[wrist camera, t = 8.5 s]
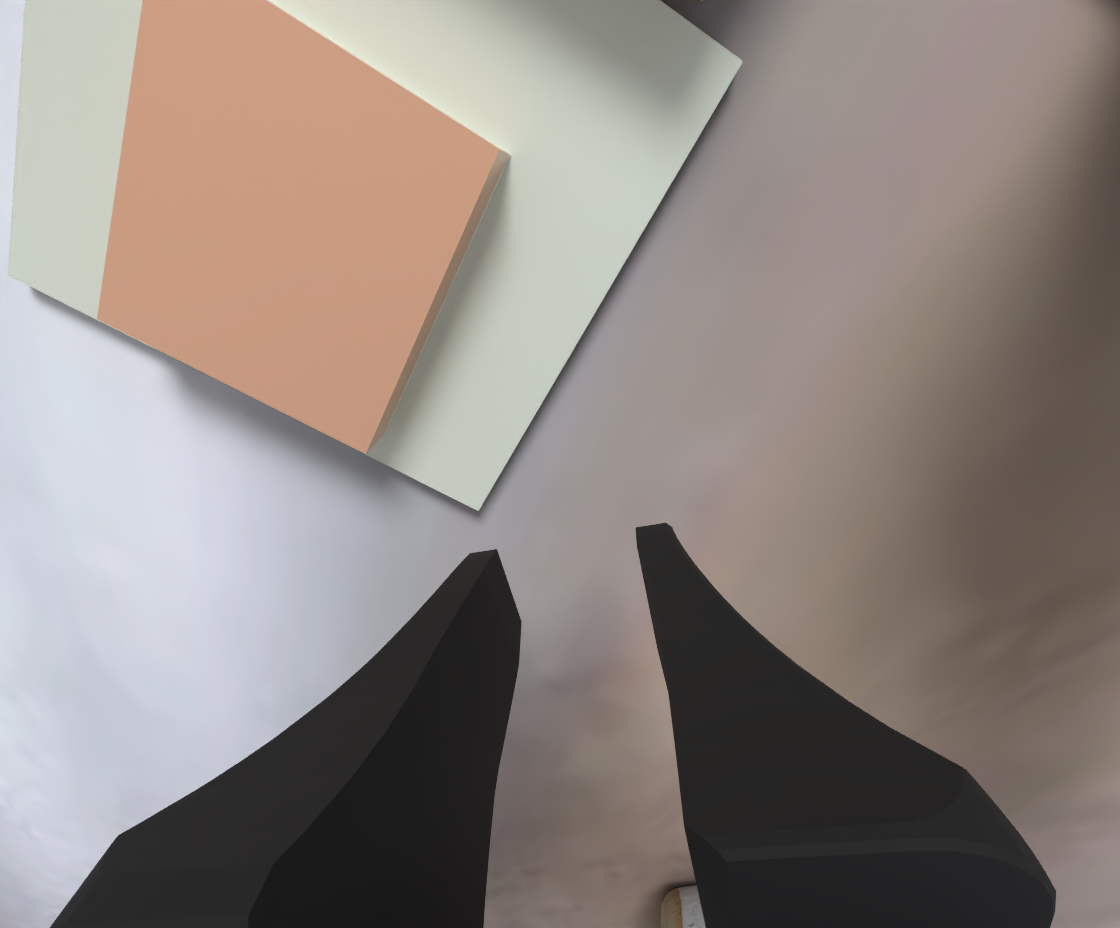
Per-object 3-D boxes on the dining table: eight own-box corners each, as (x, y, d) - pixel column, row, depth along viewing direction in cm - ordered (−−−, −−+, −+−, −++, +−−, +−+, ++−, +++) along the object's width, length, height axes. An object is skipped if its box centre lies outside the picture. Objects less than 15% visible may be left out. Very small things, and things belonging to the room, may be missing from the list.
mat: (737, 66, 12) (743, 61, 11) (481, 502, 17) (478, 511, 17) (79, -416, 9) (53, -449, 9) (25, 273, 15) (8, 275, 14)
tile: (499, 148, 11) (365, 454, 14) (511, 154, 12) (386, 430, 16) (153, -73, 10) (96, 319, 13) (211, -38, 11) (146, 307, 14)
